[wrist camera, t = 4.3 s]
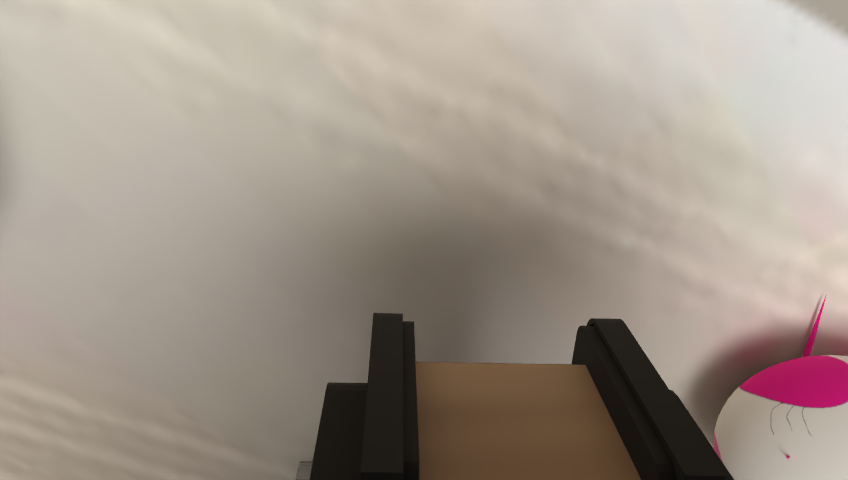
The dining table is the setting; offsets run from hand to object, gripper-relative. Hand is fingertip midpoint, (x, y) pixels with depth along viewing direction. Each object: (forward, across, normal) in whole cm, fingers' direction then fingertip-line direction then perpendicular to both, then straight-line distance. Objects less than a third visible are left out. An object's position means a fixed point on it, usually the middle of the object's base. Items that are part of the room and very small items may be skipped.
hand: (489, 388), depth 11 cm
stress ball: (+8, -12, +5) cm, 15 cm away
